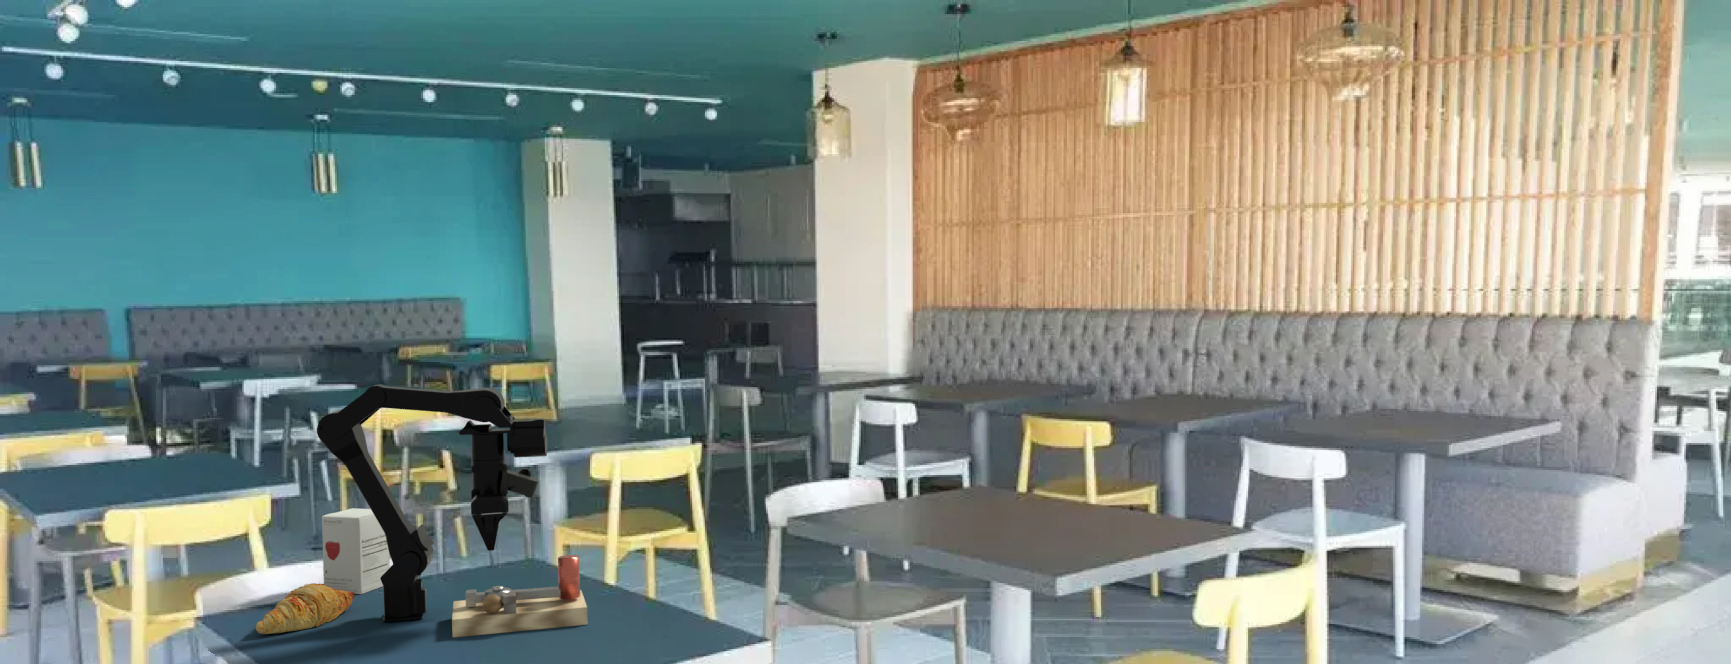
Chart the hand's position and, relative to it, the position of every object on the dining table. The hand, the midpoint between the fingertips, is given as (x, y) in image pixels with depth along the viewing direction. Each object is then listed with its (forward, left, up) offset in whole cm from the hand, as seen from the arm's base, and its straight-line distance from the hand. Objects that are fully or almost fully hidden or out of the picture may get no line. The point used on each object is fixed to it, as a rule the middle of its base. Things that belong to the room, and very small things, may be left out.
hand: (490, 545), depth 219 cm
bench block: (+4, -9, -12) cm, 15 cm away
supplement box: (-25, +29, -12) cm, 40 cm away
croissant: (-31, +5, -12) cm, 34 cm away
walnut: (0, -13, -9) cm, 16 cm away
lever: (+5, -8, -9) cm, 13 cm away
